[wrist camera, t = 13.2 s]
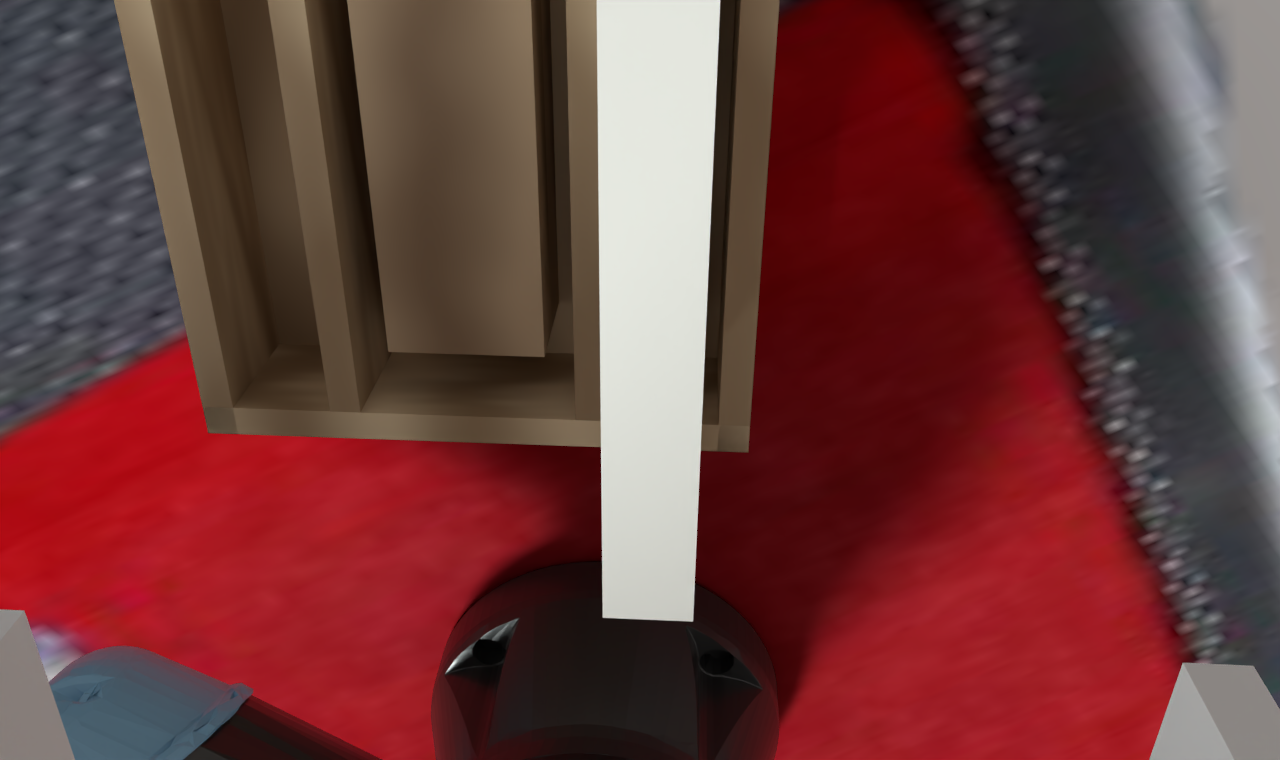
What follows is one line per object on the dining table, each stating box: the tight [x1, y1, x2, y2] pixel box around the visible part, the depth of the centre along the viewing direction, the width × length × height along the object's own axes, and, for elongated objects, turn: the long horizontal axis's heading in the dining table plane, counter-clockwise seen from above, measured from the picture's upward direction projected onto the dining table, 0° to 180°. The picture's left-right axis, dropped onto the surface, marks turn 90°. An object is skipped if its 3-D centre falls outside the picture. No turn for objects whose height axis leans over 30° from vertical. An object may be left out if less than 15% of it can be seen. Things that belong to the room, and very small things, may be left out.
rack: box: [114, 0, 780, 452], centre depth 34 cm, size 18×20×6 cm
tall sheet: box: [597, 0, 720, 622], centre depth 28 cm, size 2×14×16 cm, turn 179°
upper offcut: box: [347, 0, 552, 357], centre depth 32 cm, size 5×14×2 cm, turn 179°
